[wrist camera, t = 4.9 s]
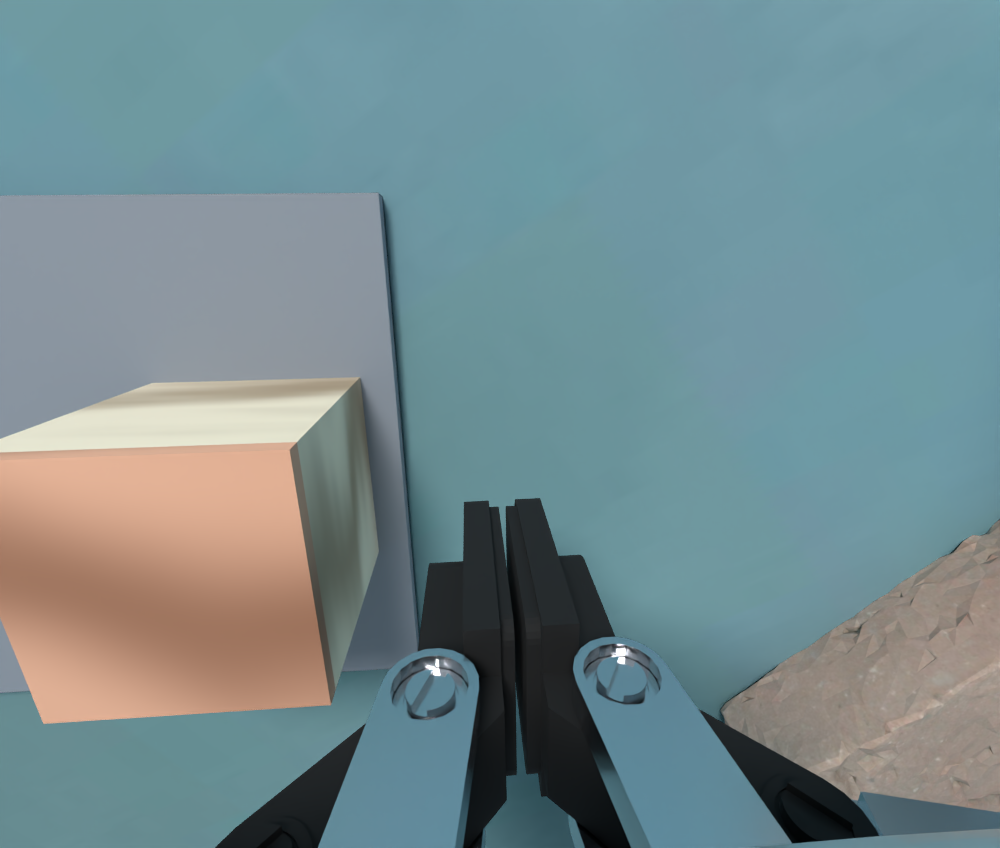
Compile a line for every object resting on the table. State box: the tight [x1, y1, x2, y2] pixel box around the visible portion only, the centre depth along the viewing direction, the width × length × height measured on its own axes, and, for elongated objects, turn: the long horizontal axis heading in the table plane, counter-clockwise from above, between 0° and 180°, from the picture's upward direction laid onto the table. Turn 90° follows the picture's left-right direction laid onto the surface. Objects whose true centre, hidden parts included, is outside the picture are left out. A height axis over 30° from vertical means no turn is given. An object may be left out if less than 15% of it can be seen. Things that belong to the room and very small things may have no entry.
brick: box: [720, 520, 1000, 812], centre depth 18 cm, size 16×8×5 cm, turn 131°
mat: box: [0, 193, 419, 693], centre depth 15 cm, size 16×22×1 cm
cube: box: [0, 377, 379, 724], centre depth 12 cm, size 6×6×6 cm
